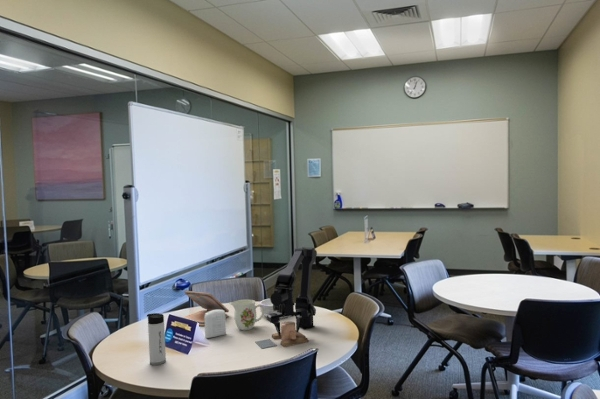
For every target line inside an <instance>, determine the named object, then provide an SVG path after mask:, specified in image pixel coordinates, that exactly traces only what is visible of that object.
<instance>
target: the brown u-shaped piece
mask: <svg viewBox="0 0 600 399" xmlns="http://www.w3.org/2000/svg"><path fill="white" fill-rule="evenodd" d="M295 332H296V329H295ZM271 338H272V339H274V340H277V339H281V331H280V336H279V335H278V333H272V334H271ZM308 342H309V338H308V337H307V336H306V335H305V334H303V333H302V332H300V330H299V331H298V332H296V339H290V340H285V341H281V340H280V345H281V347H283V348H286V347H290V346H294V345H299V344H305V343H308Z"/></svg>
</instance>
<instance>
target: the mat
mask: <svg viewBox="0 0 600 399" xmlns="http://www.w3.org/2000/svg"><path fill="white" fill-rule="evenodd" d="M255 344H256V345H257V346H258V347H259V348H260V349H261V350H262V349H268V348H272V347H277V343H275V342H274V341H273V340H272V339H271V338H267V339H262V340H257V341H255Z"/></svg>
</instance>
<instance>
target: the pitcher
mask: <svg viewBox="0 0 600 399" xmlns="http://www.w3.org/2000/svg"><path fill="white" fill-rule="evenodd" d="M228 304H229V305H231V306H232V307H233V308H234V311H233V312H234V314H233V317H234V322H235V324H236V326H237V328H238V329H239V330H240V331H249V330H252V329H253V328H254V326H255V324H256V323H257V322H259V321H260V320H262V319H263V317H264V316H265V315H264V307H263V306H262V305H261V304H260V303H257V304H256V300H253V299H247V298H245V299H238V300H234V301H230V302H228ZM255 304H256V305H255ZM258 307H259V308H260V307H261V309H262V313H261V314H260V315H259V317H257V310H256V309H257V308H258Z"/></svg>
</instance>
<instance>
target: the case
mask: <svg viewBox="0 0 600 399" xmlns="http://www.w3.org/2000/svg"><path fill="white" fill-rule="evenodd" d="M184 294H185V295H186V296H187V297H188V298H190V300H191V301H193V302H194V303H196V304H197V305H198V306H199V307H201V308H202V309H203V310H199V311H197V312H193V313H190V314H187V315H184V316H183V317H184V318H187V319H191V320H194V321H197V322H198V323H199V326H198V327H205V313H207V312H209V311H212V310H224V311H225V317H226V318H228V317H229V314H227V313H230V310H229V309H228V308H227V307H226V306H225V305H224V304H223V303H222V302H221V301H219V300H218V299H217V297H215V296H214V295H213V294H211V293H208V292H200V291H192V290H191V291H190V290H185V291H184Z"/></svg>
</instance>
